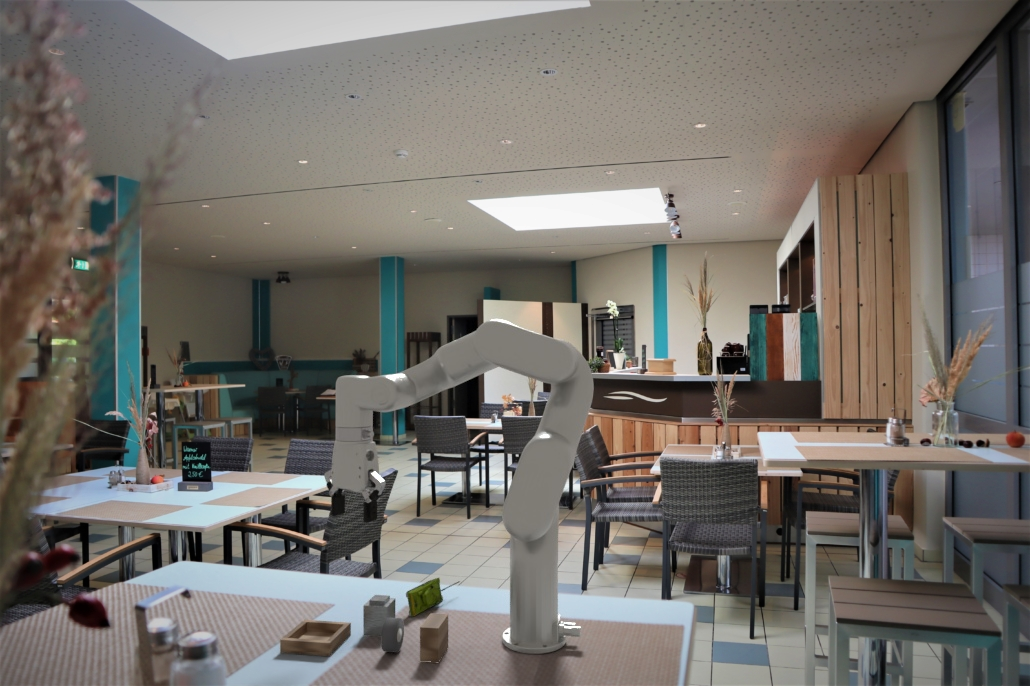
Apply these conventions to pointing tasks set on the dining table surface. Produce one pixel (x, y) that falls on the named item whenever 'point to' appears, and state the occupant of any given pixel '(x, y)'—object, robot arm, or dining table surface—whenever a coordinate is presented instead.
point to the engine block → (377, 614)
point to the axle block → (434, 637)
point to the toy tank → (424, 596)
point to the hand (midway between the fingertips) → (353, 517)
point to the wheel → (392, 634)
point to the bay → (315, 638)
